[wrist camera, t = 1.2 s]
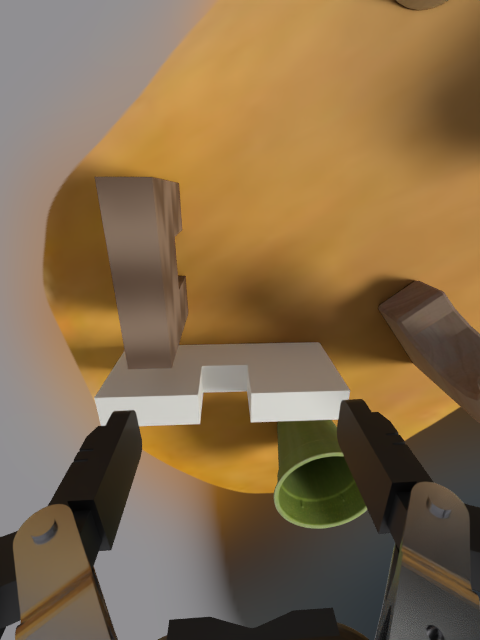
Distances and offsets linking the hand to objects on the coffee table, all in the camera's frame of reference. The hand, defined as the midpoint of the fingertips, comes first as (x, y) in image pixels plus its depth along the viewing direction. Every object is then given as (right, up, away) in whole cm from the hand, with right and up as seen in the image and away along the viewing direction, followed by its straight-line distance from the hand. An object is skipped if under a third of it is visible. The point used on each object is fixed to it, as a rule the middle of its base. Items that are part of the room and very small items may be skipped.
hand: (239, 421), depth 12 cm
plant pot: (+9, -10, +31) cm, 34 cm away
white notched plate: (-2, -1, +26) cm, 26 cm away
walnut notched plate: (-8, +11, +21) cm, 25 cm away
